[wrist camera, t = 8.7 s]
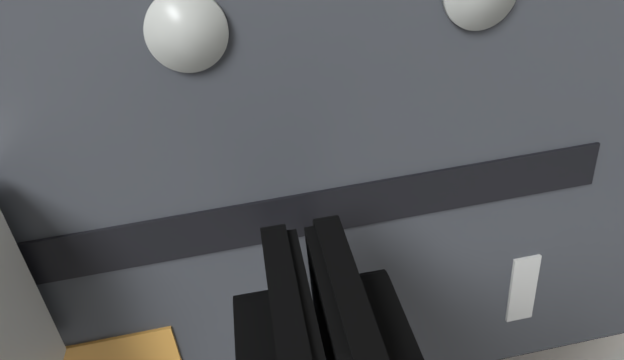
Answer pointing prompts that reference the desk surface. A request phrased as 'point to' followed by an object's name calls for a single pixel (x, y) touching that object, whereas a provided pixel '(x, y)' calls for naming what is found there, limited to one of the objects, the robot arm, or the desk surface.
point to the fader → (23, 309)
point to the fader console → (316, 163)
